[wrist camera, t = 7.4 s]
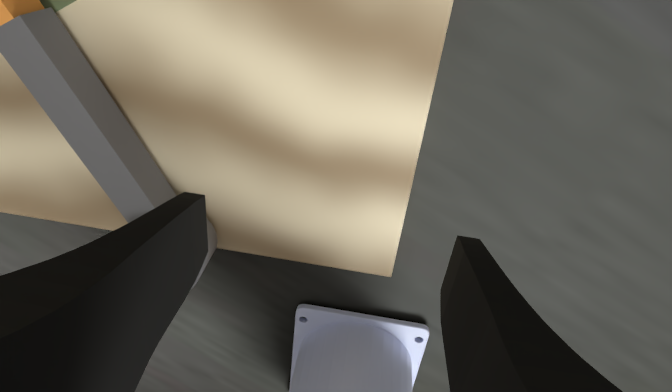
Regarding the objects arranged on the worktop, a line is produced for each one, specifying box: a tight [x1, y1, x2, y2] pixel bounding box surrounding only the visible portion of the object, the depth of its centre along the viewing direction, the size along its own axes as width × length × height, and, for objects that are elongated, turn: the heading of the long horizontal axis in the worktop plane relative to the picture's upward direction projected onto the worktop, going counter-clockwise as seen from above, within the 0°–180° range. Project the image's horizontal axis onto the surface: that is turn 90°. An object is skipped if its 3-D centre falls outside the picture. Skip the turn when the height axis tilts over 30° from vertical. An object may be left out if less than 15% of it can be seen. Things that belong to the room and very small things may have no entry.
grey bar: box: [0, 0, 218, 289], centre depth 20 cm, size 15×4×3 cm, turn 23°
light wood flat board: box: [0, 0, 453, 277], centre depth 21 cm, size 15×23×1 cm, turn 84°
